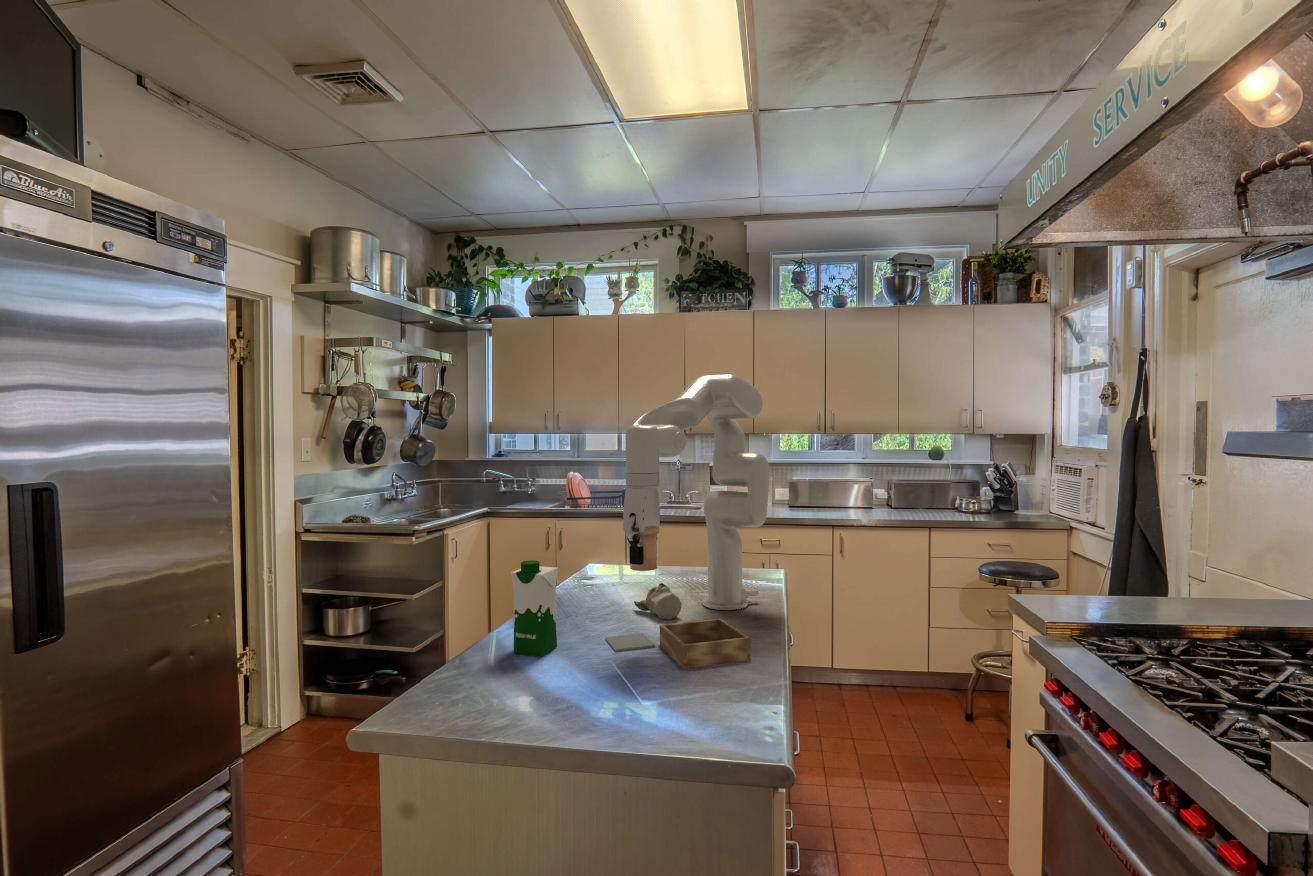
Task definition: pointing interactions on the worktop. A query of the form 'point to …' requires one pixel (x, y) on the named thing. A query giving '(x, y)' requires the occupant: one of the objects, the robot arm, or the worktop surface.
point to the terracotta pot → (648, 550)
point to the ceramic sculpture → (661, 602)
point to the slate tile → (629, 642)
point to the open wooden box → (704, 643)
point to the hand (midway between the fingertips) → (643, 560)
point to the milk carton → (534, 609)
